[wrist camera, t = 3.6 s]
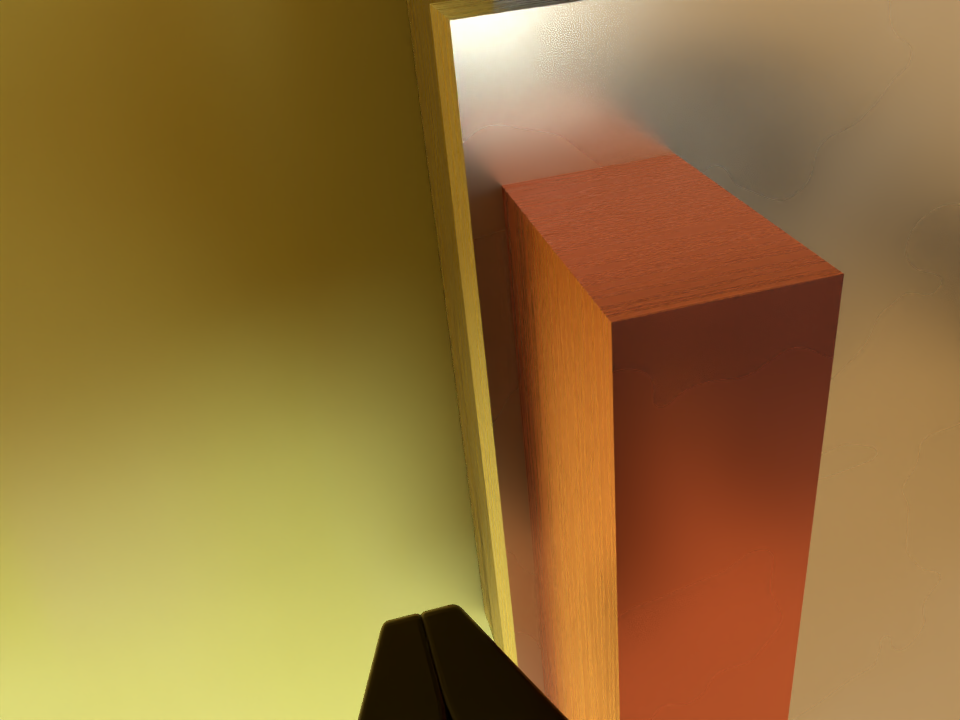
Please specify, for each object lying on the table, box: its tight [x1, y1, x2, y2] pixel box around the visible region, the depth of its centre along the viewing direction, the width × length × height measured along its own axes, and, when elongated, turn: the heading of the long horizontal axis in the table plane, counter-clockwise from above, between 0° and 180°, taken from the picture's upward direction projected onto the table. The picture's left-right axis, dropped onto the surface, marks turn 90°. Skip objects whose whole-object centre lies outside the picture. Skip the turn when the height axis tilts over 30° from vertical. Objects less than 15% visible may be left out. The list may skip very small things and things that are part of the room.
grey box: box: [407, 0, 504, 652], centre depth 14 cm, size 14×19×6 cm
